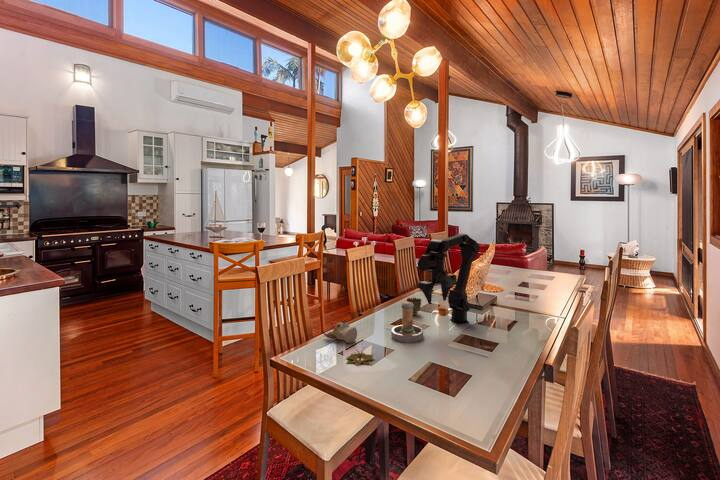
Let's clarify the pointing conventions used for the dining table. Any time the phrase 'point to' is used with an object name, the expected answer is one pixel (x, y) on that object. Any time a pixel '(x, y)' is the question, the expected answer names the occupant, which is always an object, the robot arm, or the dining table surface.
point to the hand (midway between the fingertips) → (437, 302)
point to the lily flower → (360, 355)
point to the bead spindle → (407, 318)
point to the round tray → (407, 338)
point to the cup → (415, 304)
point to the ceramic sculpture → (343, 332)
